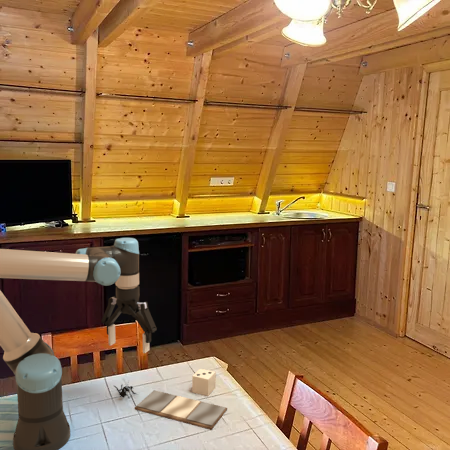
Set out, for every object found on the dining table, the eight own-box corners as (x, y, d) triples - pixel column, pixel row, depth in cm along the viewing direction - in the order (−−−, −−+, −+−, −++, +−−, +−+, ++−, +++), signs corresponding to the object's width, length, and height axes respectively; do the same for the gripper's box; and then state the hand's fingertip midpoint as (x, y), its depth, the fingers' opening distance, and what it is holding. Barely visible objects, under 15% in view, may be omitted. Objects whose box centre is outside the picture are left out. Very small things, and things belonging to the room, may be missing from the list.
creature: (121, 391, 163) (109, 398, 156) (123, 376, 164) (111, 381, 156) (142, 395, 161) (130, 402, 153) (143, 379, 161) (132, 385, 154)
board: (134, 409, 150) (134, 406, 150) (154, 391, 161) (154, 389, 161) (211, 429, 140) (211, 426, 140) (227, 409, 151) (227, 406, 151)
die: (192, 392, 161) (192, 375, 160) (199, 384, 167) (200, 368, 166) (208, 396, 159) (208, 379, 158) (215, 388, 164) (215, 371, 163)
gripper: (166, 287, 151) (167, 350, 154) (103, 278, 161) (105, 337, 164) (154, 294, 144) (154, 359, 147) (89, 283, 154) (91, 345, 158)
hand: (128, 347), depth 156 cm, fingers open, 13 cm apart
